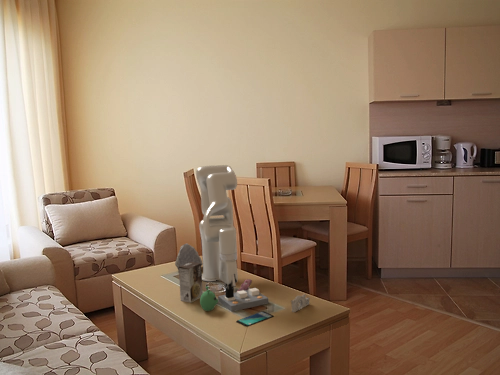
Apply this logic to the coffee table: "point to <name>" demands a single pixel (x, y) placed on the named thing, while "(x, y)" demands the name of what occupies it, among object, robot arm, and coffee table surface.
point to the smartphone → (254, 318)
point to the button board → (243, 301)
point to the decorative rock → (187, 256)
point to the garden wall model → (298, 300)
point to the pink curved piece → (245, 285)
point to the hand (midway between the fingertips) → (229, 296)
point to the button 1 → (229, 298)
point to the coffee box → (190, 281)
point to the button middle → (241, 294)
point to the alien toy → (208, 300)
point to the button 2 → (253, 291)
